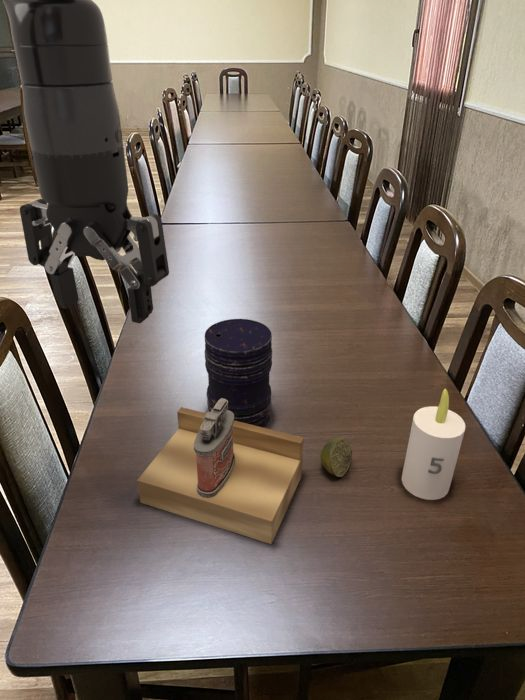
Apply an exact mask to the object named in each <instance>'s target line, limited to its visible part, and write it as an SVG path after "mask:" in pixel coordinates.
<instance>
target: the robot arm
mask: <svg viewBox="0 0 525 700" xmlns="http://www.w3.org/2000/svg"><path fill="white" fill-rule="evenodd" d="M2 3H3V4H4V7H5V10H6V13H7V16H8V19H9V24H10V32H11V38H12V44H13V48H14V54H15V58H16V59H15V60H16V63H17V69H18V74H19V78H20V83H21V84H20V85H21V90H22V104H23V105H22V106H23V115H24V121H25V126H26V131H27V135H28V141H29V145H30V150H31V155H32V161H33V165H34V170H35V175H36V180H37V185H38V190H39V195H40V198H38V199H35V200H32V201H30V202H28V203H25V204H22V205H20V207H19V214H20V220H21V226H22V231H23V235H24V236H23V237H24V241H25V248H26V251H27V252H26V254H27V259H28V261H29V263H30V264H31V265H33V266H38V265H39V266H41V267H43V268H44V269H45V271H46V273H48V274H49V276H50V281H51V286H52V290H53V296H54V298H55V300H56V302H58V303H57V304H58V306H59V308H63V309H69V308H71V307H72V306H74V305H75V304H77V303H78V302H79V295H78V294H79V293H78V289H77V283H76V278H75V273H74V268H73V267H70V265H71V263H72V262H73V260H74V259H75V257H80V258H84V257H85V258H86V257H90V258H92V259H94V260H97V261H105V262H106V263H107V264H108V265H109V267H110V268H111V269H112V271H115V272H118V273H119V274H120V275H121V277H122V278H123V279H124V281H125V282H126V283H127V285H128V286H129V287H128V288H127V294H128V302H129V303H128V304H129V310H130V318H131V322H132V323H135V324H142V323H143V322H144V321H145V320H147V319H148V318H149V316H150V315H151V314H152V313H153V311H154V304H153V293H152V292H153V291H152V287H154V286H156V285H157V284H158V283H159V282H161V281H162V280H163V279H165V278H167V277H168V276H169V275H170V268H169V262H168V255H167V254H168V253H167V247H166V240H165V233H164V227H163V221H162V218H161V216H160V215H159V214H156V213H153V214H151V215H149V216H133V215H132V213H131V211H130V209H129V206H128V196H129V181H128V174H127V165H126V157H125V156H126V155H125V148H124V147H125V146H124V142H123V132H122V124H121V123H122V122H121V115H120V109H119V105H118V101H117V98H116V97H117V96H116V94H115V93H116V92H115V88H114V83H113V82H112V81H113V74H112V73H113V72H112V65H111V59H110V58H111V57H110V49H109V42H108V35H107V28H106V24H105V20H104V17H103V13H102V10H101V9H100V7H99V6H98V5H97V3H96V2H94V1H93V0H2ZM52 228H53V229H54V231H55V232H56V236H55V237H53V230H52ZM131 233H132V234H133V238H132V237H131V235H130V234H131ZM136 242H137V244H138V245H137V244H136ZM121 249H122V250H123V251H124V253H125V254H124V255H120V254H119V252H120V251H121Z"/></svg>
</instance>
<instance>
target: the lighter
mask: <svg viewBox="0 0 525 700" xmlns="http://www.w3.org/2000/svg"><path fill="white" fill-rule="evenodd" d="M227 409H228V401H227V400H226V399H223V398H221V399H220V400H219V401H218V402H217V403H216V405H215V406H214V408H213V409H212V411H211V412H209V411H206V412H205V413H206V414H205V417H204V421H203V424H202V425H201V427H200V430H199V432H198V434H197V436H196V439H195V441H194V451H195V453H196V462H197V476H198V483H197V493H198V495H199V496H201V497H203V498H212V497H215V496H216V495H217V494H218V493H219V492H220V490H221V489H222V488H223V487H224V485H225V484H226V482H227V481H228V479H229V478H230V475H231V473H232V471H233V468H234V464H235V454H234V452H233V424H234V414H233V412H231V411H229V410H227Z"/></svg>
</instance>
